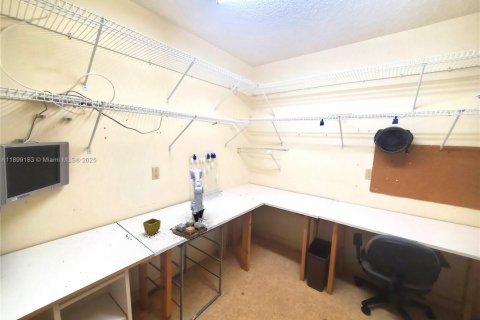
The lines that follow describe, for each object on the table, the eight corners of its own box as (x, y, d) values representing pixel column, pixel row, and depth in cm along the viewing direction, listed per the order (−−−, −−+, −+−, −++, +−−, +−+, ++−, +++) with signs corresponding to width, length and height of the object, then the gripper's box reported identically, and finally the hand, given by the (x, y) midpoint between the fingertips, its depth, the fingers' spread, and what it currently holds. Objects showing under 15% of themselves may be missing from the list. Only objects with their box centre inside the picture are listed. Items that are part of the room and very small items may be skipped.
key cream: (198, 224, 152) (198, 221, 152) (202, 226, 150) (202, 223, 150) (194, 227, 148) (194, 224, 148) (198, 228, 146) (198, 225, 146)
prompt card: (181, 223, 160) (181, 223, 160) (184, 224, 158) (184, 224, 158) (169, 229, 150) (169, 228, 150) (173, 230, 148) (173, 230, 148)
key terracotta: (189, 229, 144) (189, 226, 144) (194, 230, 142) (194, 227, 142) (185, 231, 141) (185, 228, 140) (190, 233, 138) (190, 230, 138)
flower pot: (142, 234, 142) (142, 222, 141) (152, 229, 149) (152, 217, 148) (151, 237, 138) (151, 224, 137) (161, 232, 146) (161, 220, 145)
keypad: (189, 224, 160) (189, 220, 159) (207, 229, 151) (207, 225, 151) (172, 233, 144) (172, 228, 144) (190, 240, 135) (190, 235, 135)
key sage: (190, 222, 156) (190, 219, 156) (194, 223, 154) (194, 220, 154) (186, 224, 152) (186, 221, 152) (190, 225, 150) (190, 222, 150)
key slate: (182, 226, 148) (181, 223, 148) (186, 228, 146) (186, 225, 146) (177, 229, 144) (177, 225, 144) (181, 230, 142) (181, 227, 142)
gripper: (197, 199, 155) (197, 215, 157) (189, 205, 141) (189, 223, 143) (206, 199, 153) (206, 216, 155) (198, 206, 139) (198, 224, 141)
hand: (198, 219), depth 149 cm, fingers open, 6 cm apart
